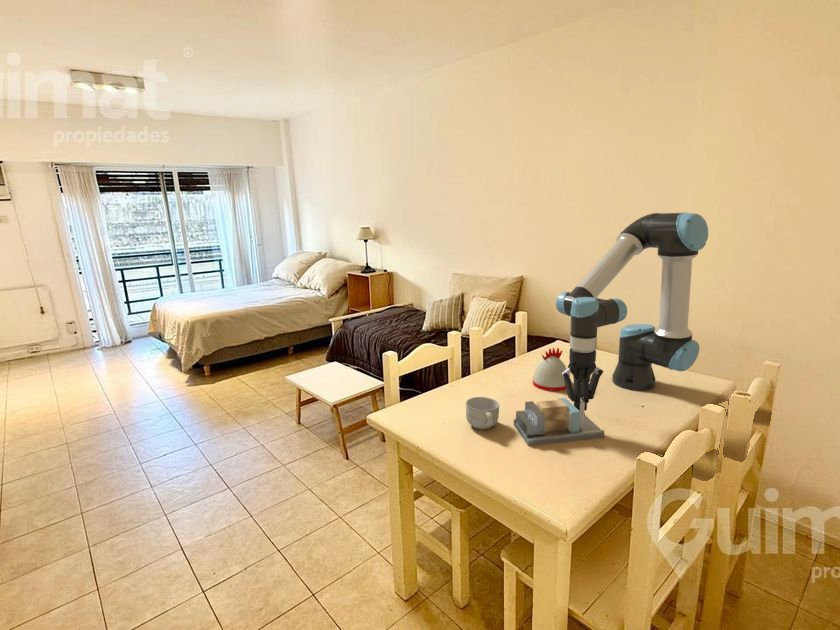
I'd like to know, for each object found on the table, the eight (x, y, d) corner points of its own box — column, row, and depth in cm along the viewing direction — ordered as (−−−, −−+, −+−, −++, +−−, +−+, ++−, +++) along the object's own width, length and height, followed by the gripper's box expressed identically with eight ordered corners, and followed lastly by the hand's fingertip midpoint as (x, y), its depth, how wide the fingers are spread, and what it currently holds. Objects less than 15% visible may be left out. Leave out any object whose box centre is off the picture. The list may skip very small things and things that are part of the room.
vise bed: (583, 417, 144) (583, 411, 144) (604, 437, 132) (604, 431, 131) (513, 424, 142) (513, 418, 141) (527, 445, 129) (528, 439, 129)
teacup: (465, 417, 148) (464, 396, 146) (497, 416, 148) (496, 395, 146) (468, 438, 135) (467, 415, 133) (503, 438, 134) (503, 414, 132)
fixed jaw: (532, 420, 141) (533, 401, 139) (545, 436, 131) (545, 415, 129) (515, 422, 140) (516, 402, 138) (527, 438, 130) (527, 417, 129)
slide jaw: (564, 417, 142) (565, 397, 140) (579, 432, 132) (580, 411, 130) (556, 418, 142) (557, 398, 140) (570, 433, 132) (571, 412, 130)
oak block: (560, 422, 139) (561, 399, 137) (566, 429, 135) (567, 405, 133) (536, 425, 138) (536, 401, 136) (541, 432, 134) (542, 408, 132)
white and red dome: (575, 389, 166) (577, 352, 163) (541, 393, 165) (542, 355, 161) (559, 376, 180) (560, 341, 176) (527, 379, 178) (528, 344, 174)
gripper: (596, 343, 135) (592, 412, 141) (557, 346, 134) (555, 416, 140) (609, 350, 128) (605, 423, 134) (568, 354, 127) (565, 427, 133)
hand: (579, 419), depth 137 cm, fingers closed
